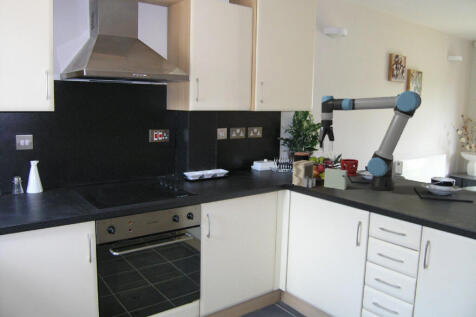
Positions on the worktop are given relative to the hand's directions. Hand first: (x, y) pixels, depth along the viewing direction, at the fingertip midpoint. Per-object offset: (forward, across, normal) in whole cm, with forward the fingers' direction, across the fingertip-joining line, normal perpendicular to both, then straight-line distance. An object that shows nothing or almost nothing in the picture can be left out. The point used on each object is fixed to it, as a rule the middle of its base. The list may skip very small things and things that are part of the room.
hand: (325, 151), depth 260 cm
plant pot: (+23, -48, -4) cm, 54 cm away
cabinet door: (+23, +2, +8) cm, 24 cm away
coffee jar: (+22, -14, -26) cm, 37 cm away
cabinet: (+22, +6, -14) cm, 27 cm away
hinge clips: (+22, +10, -6) cm, 25 cm away
